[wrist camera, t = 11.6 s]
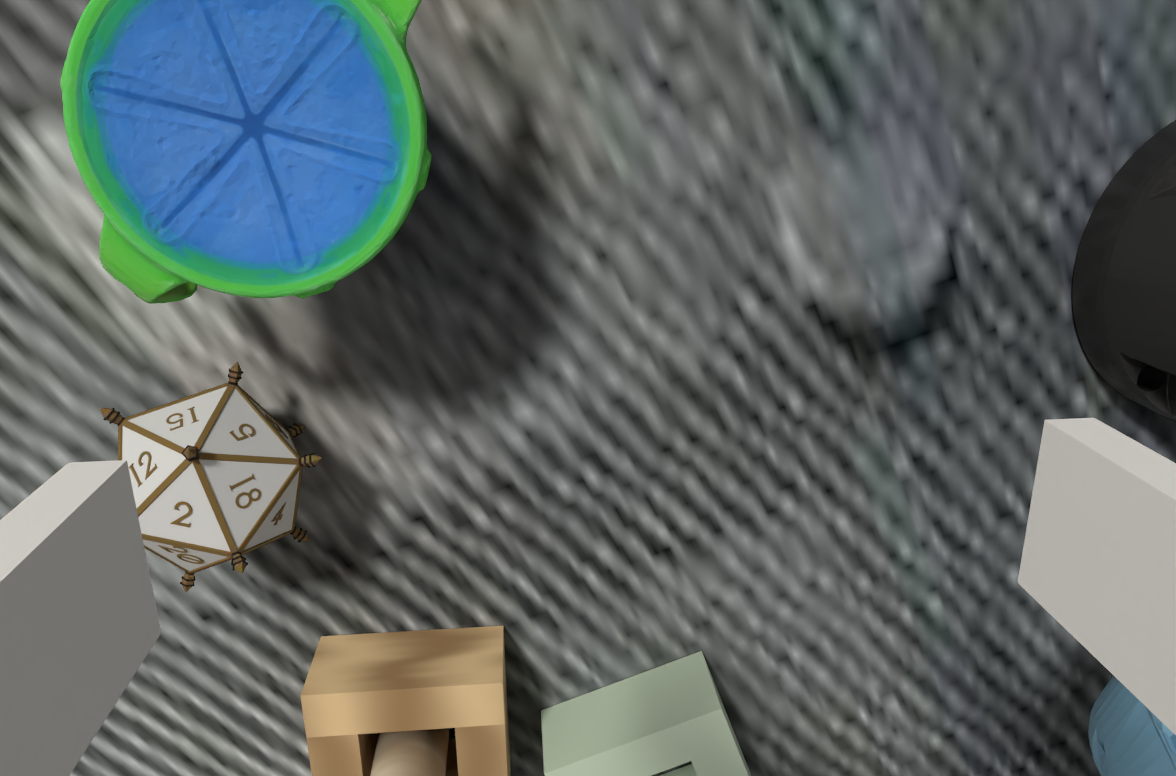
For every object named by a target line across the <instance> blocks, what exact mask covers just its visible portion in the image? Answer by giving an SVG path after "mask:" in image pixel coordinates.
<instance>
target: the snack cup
mask: <svg viewBox="0 0 1176 776" xmlns="http://www.w3.org/2000/svg"><path fill="white" fill-rule="evenodd" d="M421 1H422V0H91V1H90V2H89V4H88V5H87V7H86V8H85V10H84V12H83V14H82V16H81V18H80V20H79V22H78V24H77V27H76V29H75V32H74V34H73V37H72V39H71V42H70V45H69V49H68V53H67V58H66V61H65V64H64V67H63V72H62V77H61V82H60V85H61V90H62V92H63V97H62V100H63V115H64V122H65V128H66V133H67V136H68V141H69V146H70V149H71V152H72V155H73V157H74V160H75V163H76V165H77V167H78V169H79V172H80V174H81V176H82V178H83V181H84V183H85V184H86V186H87V188H88V190H89V192H90V193H91V195H92V197H93V198H94V200H95V202H96V203H97V205H98V206H99V208H100V209H101V210H102V212H103V213H104V221H103V227H102V231H101V237H100V246H99V248H100V254H99V257H100V260H101V263H102V265H103V267H104V269H105V270H106V271H107V272H108V273H110V274H111V275H112V276H113V277H114V278H115V279H117V280H118V281H119V282H122V283H123V284H124V285H126V286H127V287H128V288H129V289H130V290H131V291H132V292H134V294H135V295H136V296H137V297H139V298H140V299H142V300H143V301H145V302H147V303H167V302H172V301H179V300H183V299H185V298H187V297H190V296H192V295H193V293H194V292H195V291H196V290H197V285H199V286H202V287H205V288H208V289H211V290H215V291H218V292H222V293H227V294H231V295H236V296H243V297H253V298H275V297H283V296H290V295H295V296H297V297H300V298H305V297H308V296H313V295H316V294H319V293H322V292H325V291H329V290H330V289H332V288H333V287H334V286H335V283H336V282H337V281H339V280H341V279H343V278H345V277H347V276H348V275H350V274H352V273H353V272H355V271H356V270H358V269H359V268H361V267H362V266H364V265H365V264H367V263H368V262H369V261H371V260H372V259H373V258H374V257H375V256H376V255H377V254H378V253H379V252H380V251H381V250H382V249H383V248H384V247H385V246H386V245H387V244H388V243H389V242H390V241H391V240H392V239H393V237H394V236H395V234H396V233H397V232H398V230H399V229H400V227H401V226H402V224H403V222H404V221H405V219H406V218H407V216H408V214H409V212H410V210H411V208H412V205H413V203H414V201H415V198H416V196H417V194H418V193H419V192H420V191H421V190H423V189H424V187H425V185H426V181H427V177H428V173H429V168H430V163H431V154H430V152H429V150H428V147H427V116H426V110H425V105H424V99H423V95H422V91H421V87H420V83H419V80H418V76H417V74H416V71H415V69H414V66H413V64H412V61H411V59H410V57H409V55H408V53H407V49H406V34H407V30H408V27H409V25H410V22H411V20H412V19H413V17H414V15H415V12H416V10H417V8H418V6H419V4H420V2H421Z"/></svg>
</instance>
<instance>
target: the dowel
mask: <svg viewBox="0 0 1176 776" xmlns="http://www.w3.org/2000/svg"><path fill="white" fill-rule="evenodd" d="M449 731H450V728H443V729H428V730H414V731H399V732H384V733H379V735H378V740H377V745H376V750H375V755H374V760H373V765H372V770H371V775H370V776H445V774H446V763H447V752H448V742H449Z"/></svg>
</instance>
